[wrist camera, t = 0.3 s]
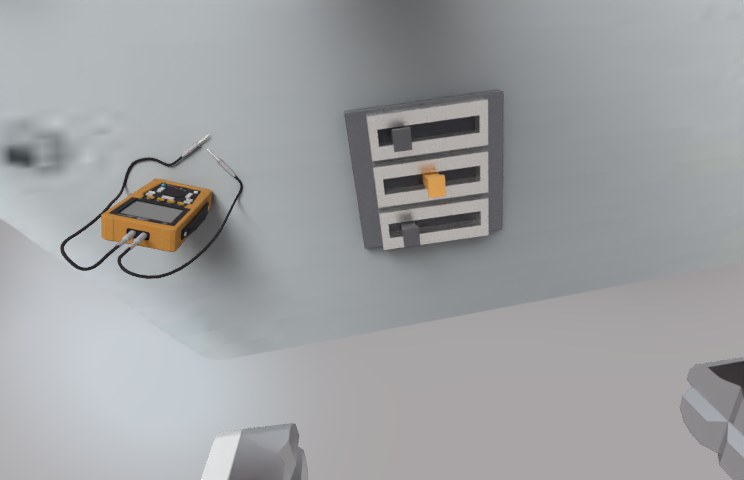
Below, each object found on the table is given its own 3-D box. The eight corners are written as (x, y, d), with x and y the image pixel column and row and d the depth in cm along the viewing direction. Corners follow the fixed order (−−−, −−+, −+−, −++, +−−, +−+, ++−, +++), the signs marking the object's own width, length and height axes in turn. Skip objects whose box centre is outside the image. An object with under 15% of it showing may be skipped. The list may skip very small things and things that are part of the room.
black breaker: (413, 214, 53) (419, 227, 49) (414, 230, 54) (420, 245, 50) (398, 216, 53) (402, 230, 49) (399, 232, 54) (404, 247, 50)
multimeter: (249, 142, 50) (196, 193, 32) (240, 214, 54) (187, 296, 36) (124, 112, 48) (-9, 149, 30) (123, 191, 52) (6, 265, 34)
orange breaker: (436, 166, 51) (444, 176, 47) (437, 184, 52) (445, 195, 48) (421, 168, 51) (427, 178, 47) (422, 186, 52) (429, 198, 48)
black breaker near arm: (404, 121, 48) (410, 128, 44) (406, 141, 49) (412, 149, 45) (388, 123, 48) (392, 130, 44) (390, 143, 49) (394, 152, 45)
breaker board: (497, 89, 50) (509, 92, 46) (496, 223, 57) (507, 235, 54) (344, 111, 50) (344, 116, 46) (364, 242, 57) (365, 255, 54)
